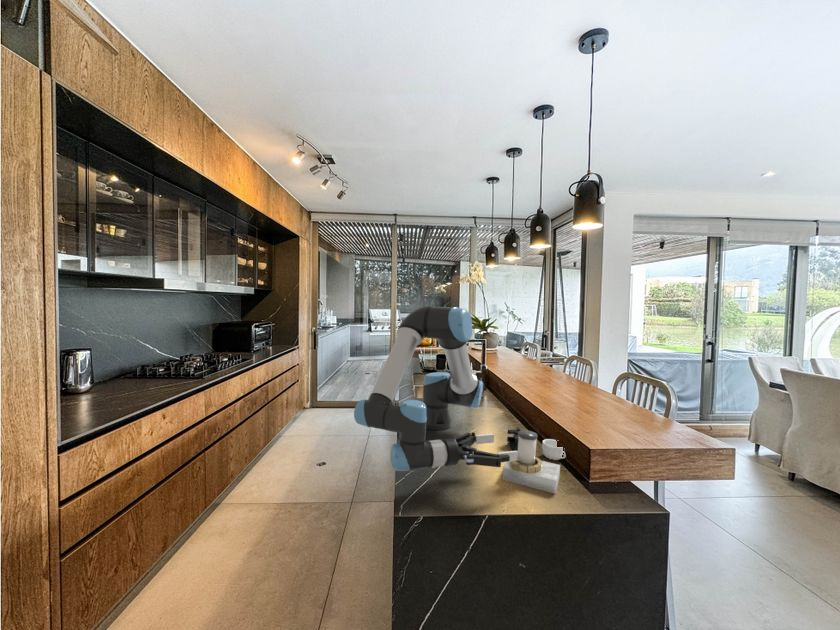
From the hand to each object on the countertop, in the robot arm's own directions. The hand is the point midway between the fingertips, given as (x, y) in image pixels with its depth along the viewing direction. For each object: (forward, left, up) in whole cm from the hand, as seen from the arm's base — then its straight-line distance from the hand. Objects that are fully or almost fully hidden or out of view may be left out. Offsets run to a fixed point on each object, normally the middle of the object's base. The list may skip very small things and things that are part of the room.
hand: (504, 446), depth 115 cm
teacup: (+13, +26, -11) cm, 31 cm away
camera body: (+8, +6, -11) cm, 15 cm away
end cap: (0, +28, -11) cm, 30 cm away
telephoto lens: (+6, +6, -7) cm, 11 cm away
